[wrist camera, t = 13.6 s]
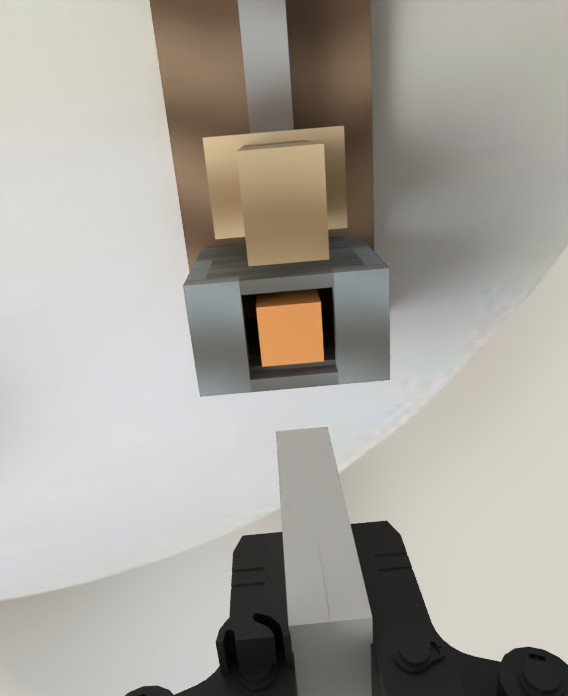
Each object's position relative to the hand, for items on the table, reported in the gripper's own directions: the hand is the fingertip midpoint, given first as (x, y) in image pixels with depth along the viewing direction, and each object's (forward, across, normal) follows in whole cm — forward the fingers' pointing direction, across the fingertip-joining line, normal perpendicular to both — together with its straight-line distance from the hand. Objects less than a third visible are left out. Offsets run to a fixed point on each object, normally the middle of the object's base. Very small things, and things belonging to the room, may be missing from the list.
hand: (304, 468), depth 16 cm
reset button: (+14, 0, 0) cm, 14 cm away
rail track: (+23, 0, +10) cm, 24 cm away
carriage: (+20, 0, +7) cm, 21 cm away
